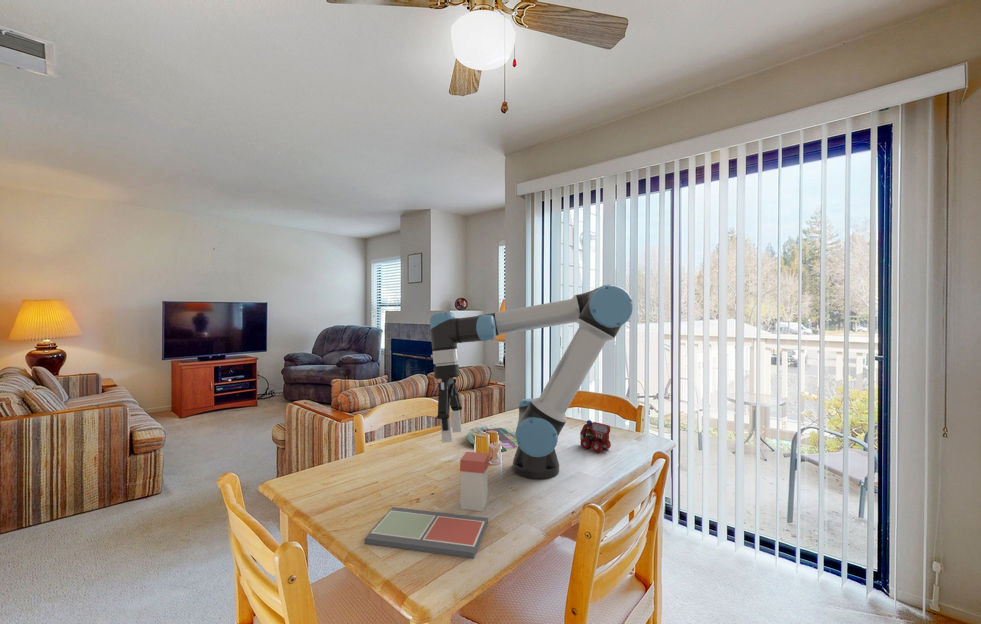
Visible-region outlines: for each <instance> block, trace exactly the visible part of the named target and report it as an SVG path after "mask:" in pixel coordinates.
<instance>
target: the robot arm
mask: <svg viewBox="0 0 981 624" xmlns="http://www.w3.org/2000/svg"><path fill="white" fill-rule="evenodd" d="M633 310H634V303H633V299H632V297H631V295H630V294H629V293H628V291H626V289H624V288H622V287H621V286H618V285H616V284H604V285H601V286H599V287H596V288H594V289H591V290H589V291H587V292H584V293H579V294H574V295H573V296H572V298H570V299H568V298H567V299H564V300H557V301H552V302H547V303H542V304H536V305H529V306H525V307H519V308H512V309H508V310H507V309H506V310H502V311H498V312H497V311H496V312H492V313H491V312H490V313H486V314H478V315H475V316H473V315H472V316H467V317H456V316H455V314H454V312H450V311H447V312H438V313H437V312H436V313H433V314H431V316H430V317H429V325H430V326H429V331H430V340H431V341H430V342H431V348H432V354H431V355H430V358H431V359H432V360H433V361H432V362H433V365H435V366H433V374H434V378H435V380H440V381H441V382H438V383H437V387H438V393H437V395H438V398H437V415H436V420H440V421H439V422H440V431H441V432H440V433H441V442H442V443H452V442H453V436H452V433H462V420H461V411H462V410H463V406H462V404H461V402H460V401H461V399H460V395H459V390H458V385H457V379H456V378H458V377H460V374H461V373H460V365H459V364H458V363H459V352H458V351H459V350H458V344H463V343H474V342H475V343H476V342H486V341H490V340H491V341H492V340H494V339H495V338H496V337H497V336H501V335H508V334H514V333H519V332H525V331H526V332H527V331H531V330H538V329H542V328H543V329H544V328H549V327H550V328H551V327H554V326H555V327H556V326H561V325H567V324H573V323H576V324H578V328H577V330H576V332H575V334H574V335H573V337H572V339H571V340H570V343H569V344H568V346H567V348H566V349H565V351H564V353H563V355H562V357H561V358H560V360H559V362H558V363H557V365H556V368H555V369H554V371H553V373H552V374H551V375H550V378H549V379H548V381H547V383H546V385H545V386H544V387H543V388H544V389H543V390H542V391H541V394H540V395H539V397H537V398H524V399H523V398H522V399H521V400H519V403H518V421H517V426H516V429H515V432H516V440H517V443H518V447H516V451H515V454H514V457H513V459H512V471H513V472H514V473H515V474H516V475H518V476H521V477H524V478H528V479H537V480H538V479H539V480H541V479H549V478H550V479H551V478H554V477H555V476H557V475H558V474H559V473H560V462H559V460H558V456H557V452H556V449H555V448H556V446H557V445H558V442H559V441H558V440H559V435H560V434H561V432H562V430H563V428H564V426H565V424H566V423H567V421H568V420H567V416H566V413H567V411H568V408H569V406H570V405H571V404H572V401H573V400H574V398H575V396H576V395H577V393H578V391H579V389H580V388H581V386H582V384H583V383H584V381H585V379H586V377H587V376H588V374H589V372H590V371H591V369H592V366H593V365H594V363H595V362H596V360H597V358H598V356H599V354H600V352H601V351H602V350H603V348H604V346H605V344H606V343H607V342H609V341H612V340H615V338H616V336H617V335H618V333H619V331H620V329H621V328H622V326H623V325H625V324H626V323H628V321H629V320H630V318H631V316H632V314H633ZM450 409H451V410H450ZM460 410H461V411H460Z"/></svg>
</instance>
